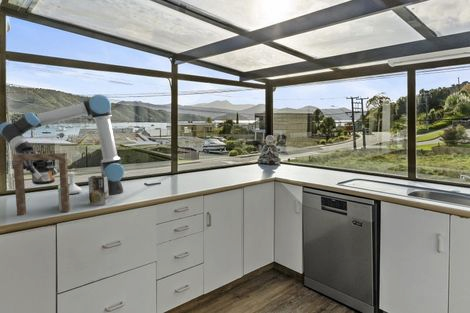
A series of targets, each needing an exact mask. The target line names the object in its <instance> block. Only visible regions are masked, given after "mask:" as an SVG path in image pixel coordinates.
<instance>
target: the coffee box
mask: <svg viewBox="0 0 470 313" xmlns="http://www.w3.org/2000/svg"><path fill="white" fill-rule="evenodd" d="M87 182H88V194H89V196H88V197H89V198H88V199H89V205H90V206H102V205H103V206H104V205H105V206H106V205H107V204H109V203H110V197H109V196H110V195H109V190H108V176H101V175H92V176H90V177H88V178H87Z"/></svg>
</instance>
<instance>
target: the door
mask: <svg viewBox="0 0 470 313" xmlns="http://www.w3.org/2000/svg"><path fill="white" fill-rule="evenodd" d="M57 191H58V192H57V195H58V197H57V198H58V209H59V212H60V211H61V212H62V207H61V190H60V183H58V186H57Z"/></svg>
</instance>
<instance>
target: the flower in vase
mask: <svg viewBox="0 0 470 313" xmlns="http://www.w3.org/2000/svg"><path fill="white" fill-rule="evenodd" d="M72 164H73V159H72V158H71V157H69V156H67V167H69V166H71V165H72ZM75 169H76V167H73V168H71V169H68V178H69V184H68V187H69V195H74V194H75V195H76V194H78V193H81V192H82V191H83V189H82V187H80V186H78V185H77V184H75V175H76V172H73V171H74V170H75Z"/></svg>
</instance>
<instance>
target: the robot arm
mask: <svg viewBox="0 0 470 313" xmlns="http://www.w3.org/2000/svg"><path fill="white" fill-rule="evenodd" d="M111 107H112V103H111V100H110V98H109V97H107V96H106V95H105V94H99V93H98V94H94V95H92V97H90V98H89V99H86V100H84V101H81V103H79V104H78V103H77V104H73V105H70V106H65V107H61V108H57V109H53V110H50V111H49V110H48V111H45V112H42V113H37V114H35V113H34V112H33V111H32V112H31V111H30V112H28V113H26V114H24V115H23V116H21V117H20V118H18V119H17V120H16V121H14V122H12V123H11V122H10V121H5V122H2V123H1V124H0V135H1V137H2V138H3V139H4V140H5V141H6V142H7V143H8V145H10V146H11V147H12V149H13V150H15V152H16V154H43V153H42V152H41V150H38V151H36V150H34V147H33V146H32V145H31V143H30V142H29V140H27V139H26V137H24V136H23V135H24V134H25V133H27V132H28V131H30V130H34V129H37V128H40V127H44V126H48V125H53V124H56V123H60V122H63V121H68V120H71V119H75V118H79V117H83V116H86V117H89V116H90V117H91V119H92V120H94V122H95V126H96V130H97V134H98V139H99V140H98V141H99V144H100V145H99V146H100V149H101V154H102V159H101V160H100V169H101V170H100V173H101V175H100V176H108V190H109V196H110V195H111V196H113V195H117V194H121V193H123V192H124V188H123V187H124V186H123V185H122V182H121V179H122V178H123V177H124V175H125V167H124V166H123V162H122V158H121V157H120V156H118V153H117V152H118V151H117V147H116V146H117V145H116V142H115V137H114V132H113V131H114V130H113V126H112V123H111V118H112V116H113V112H112V108H111ZM34 161H42V160H34ZM23 170H25V171H26V172H28V171H29V172H30V174H31V175H32V174H33V175H34V176H35V177H36V178H37V179H39V178H40V177H41V174H40V173H39V172H38V171H37V170H36V169H35V168H34V166H32V160H23ZM58 173H59V172H58V170H57V169H56V167H54V176H55V177H56V175H57V174H58Z"/></svg>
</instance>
